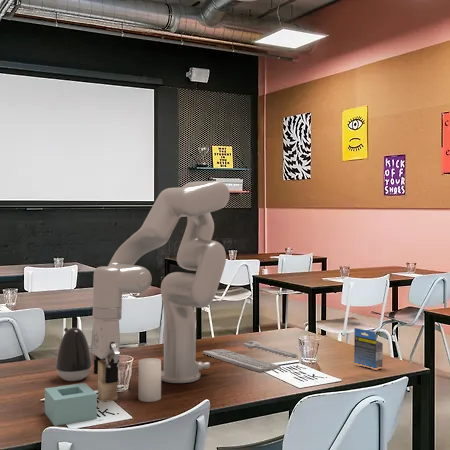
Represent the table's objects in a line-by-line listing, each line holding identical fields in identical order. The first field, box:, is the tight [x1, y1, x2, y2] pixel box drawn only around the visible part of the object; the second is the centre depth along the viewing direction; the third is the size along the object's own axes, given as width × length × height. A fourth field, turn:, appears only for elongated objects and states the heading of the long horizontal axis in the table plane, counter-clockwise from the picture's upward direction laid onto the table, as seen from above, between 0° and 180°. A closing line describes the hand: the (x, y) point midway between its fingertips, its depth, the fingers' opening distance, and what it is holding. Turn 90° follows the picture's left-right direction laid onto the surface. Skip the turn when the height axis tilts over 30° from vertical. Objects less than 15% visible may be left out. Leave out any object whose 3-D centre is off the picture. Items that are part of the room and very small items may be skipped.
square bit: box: [97, 359, 118, 403], centre depth 152 cm, size 4×4×10 cm
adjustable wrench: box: [243, 340, 298, 359], centre depth 205 cm, size 25×6×2 cm, turn 36°
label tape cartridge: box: [353, 327, 384, 368], centre depth 186 cm, size 9×4×12 cm, turn 37°
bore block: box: [44, 382, 98, 427], centre depth 139 cm, size 10×10×6 cm
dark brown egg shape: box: [55, 327, 93, 382], centre depth 170 cm, size 10×10×15 cm
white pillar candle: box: [137, 357, 162, 403], centre depth 153 cm, size 6×6×10 cm
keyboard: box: [202, 348, 282, 373], centre depth 192 cm, size 29×10×2 cm, turn 40°
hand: (105, 377), depth 152 cm, fingers open, 9 cm apart
